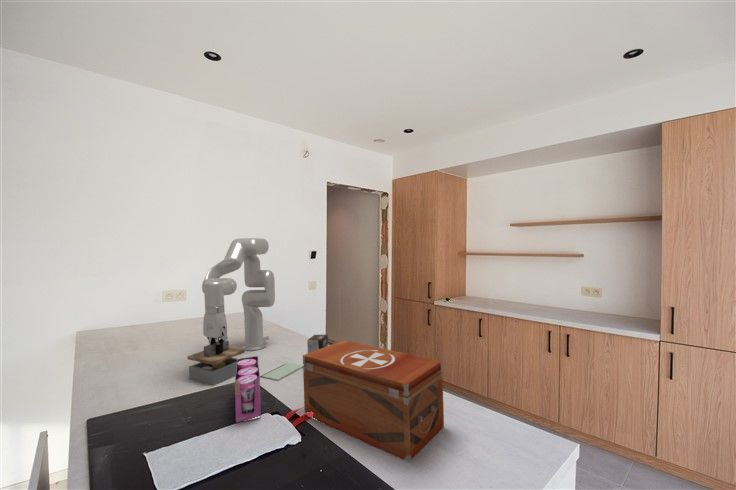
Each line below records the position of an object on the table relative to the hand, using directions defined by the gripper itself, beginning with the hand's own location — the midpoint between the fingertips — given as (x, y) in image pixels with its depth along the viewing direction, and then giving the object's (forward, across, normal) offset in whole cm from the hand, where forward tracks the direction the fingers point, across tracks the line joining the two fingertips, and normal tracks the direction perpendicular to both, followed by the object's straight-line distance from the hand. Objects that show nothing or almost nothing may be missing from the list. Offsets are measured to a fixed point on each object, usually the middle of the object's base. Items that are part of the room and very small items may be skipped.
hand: (216, 352), depth 144 cm
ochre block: (+10, -2, +2) cm, 11 cm away
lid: (+2, 0, 0) cm, 2 cm away
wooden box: (+11, +76, -4) cm, 77 cm away
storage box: (+11, 0, -1) cm, 11 cm away
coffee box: (+11, +38, +20) cm, 45 cm away
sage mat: (+11, +18, +16) cm, 27 cm away
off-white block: (+10, -3, -4) cm, 11 cm away
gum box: (+11, +32, -12) cm, 36 cm away
